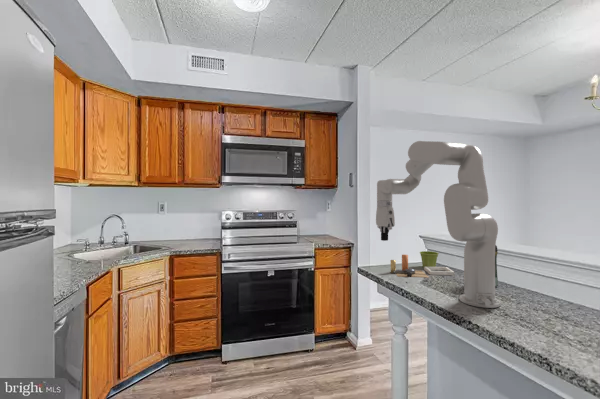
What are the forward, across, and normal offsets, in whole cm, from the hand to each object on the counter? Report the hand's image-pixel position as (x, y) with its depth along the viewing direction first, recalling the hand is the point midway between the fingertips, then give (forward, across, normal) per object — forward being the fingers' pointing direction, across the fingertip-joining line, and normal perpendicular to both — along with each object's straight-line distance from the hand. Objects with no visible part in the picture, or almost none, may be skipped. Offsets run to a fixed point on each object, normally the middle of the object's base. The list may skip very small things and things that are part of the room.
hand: (384, 240), depth 154 cm
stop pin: (+15, -5, -8) cm, 18 cm away
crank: (+15, -9, -4) cm, 18 cm away
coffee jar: (+16, -36, -26) cm, 47 cm away
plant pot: (+16, -3, -26) cm, 31 cm away
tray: (+16, -14, -22) cm, 30 cm away
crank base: (+16, -11, -7) cm, 21 cm away
